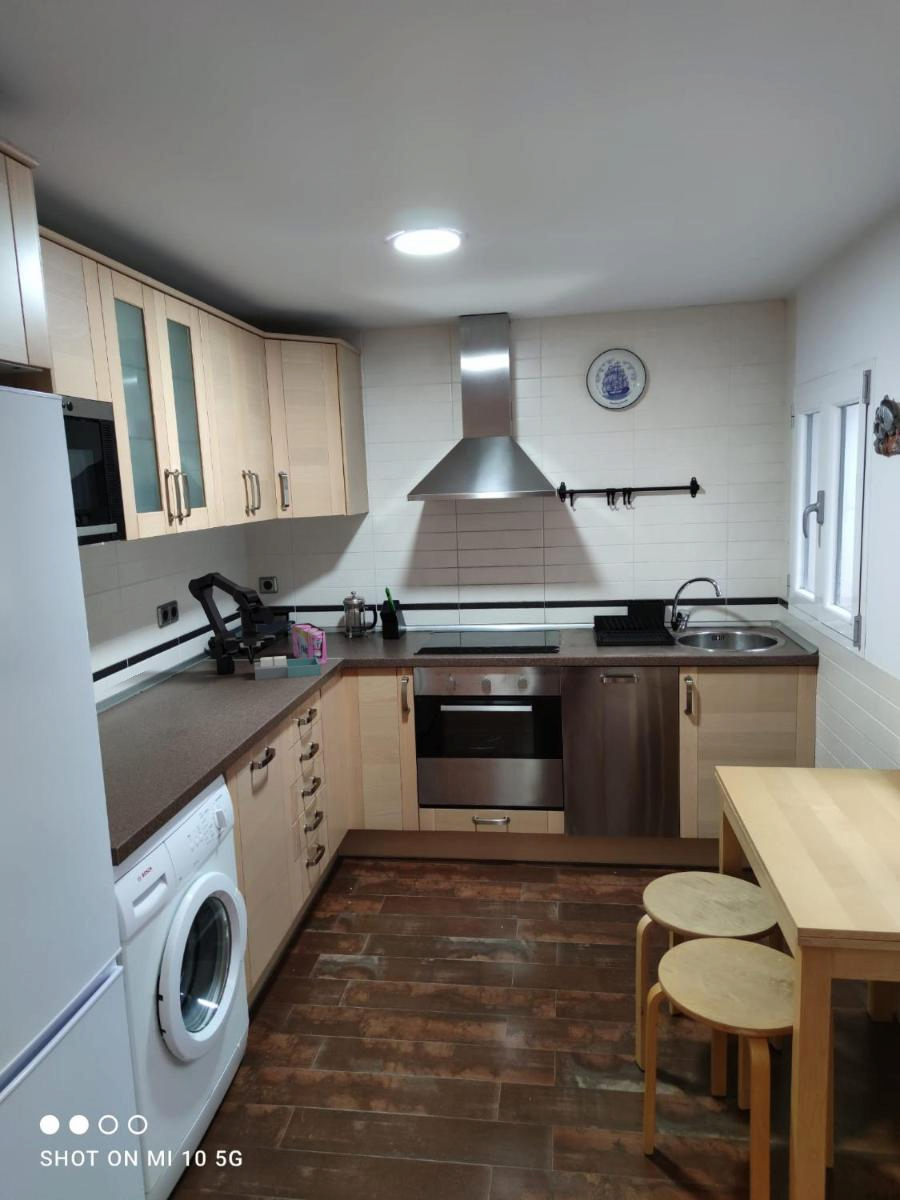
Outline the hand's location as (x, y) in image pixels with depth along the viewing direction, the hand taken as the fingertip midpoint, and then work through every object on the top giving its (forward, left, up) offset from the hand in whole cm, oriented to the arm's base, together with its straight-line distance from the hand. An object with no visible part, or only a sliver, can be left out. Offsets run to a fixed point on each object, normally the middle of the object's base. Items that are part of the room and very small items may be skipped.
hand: (251, 664), depth 295 cm
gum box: (+23, +23, -5) cm, 33 cm away
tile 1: (+6, 0, -1) cm, 6 cm away
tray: (+19, 0, -5) cm, 19 cm away
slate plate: (+7, 0, -5) cm, 9 cm away
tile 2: (+11, 0, -1) cm, 11 cm away
